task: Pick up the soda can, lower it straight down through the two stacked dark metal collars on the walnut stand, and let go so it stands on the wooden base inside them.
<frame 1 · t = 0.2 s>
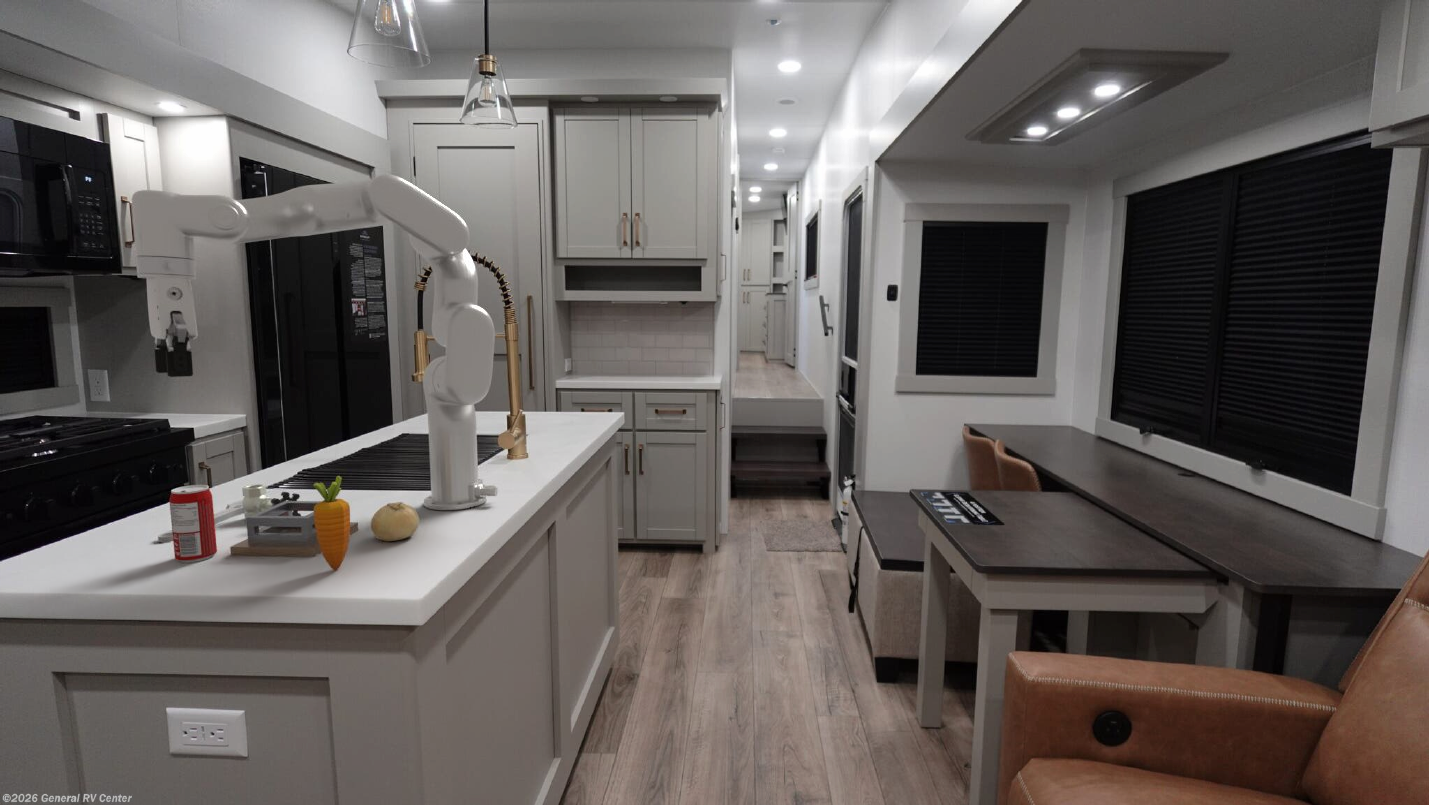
hand: (174, 374, 113), 30 cm above the countertop, tool pointing down, fingers open, 9 cm apart
onion: (396, 539, 123), on the countertop
soda can: (196, 558, 113), on the countertop
adjustable wrench: (213, 523, 132), on the countertop
carrot: (335, 571, 107), on the countertop
collar stand: (298, 542, 120), on the countertop
valve: (269, 522, 132), on the countertop
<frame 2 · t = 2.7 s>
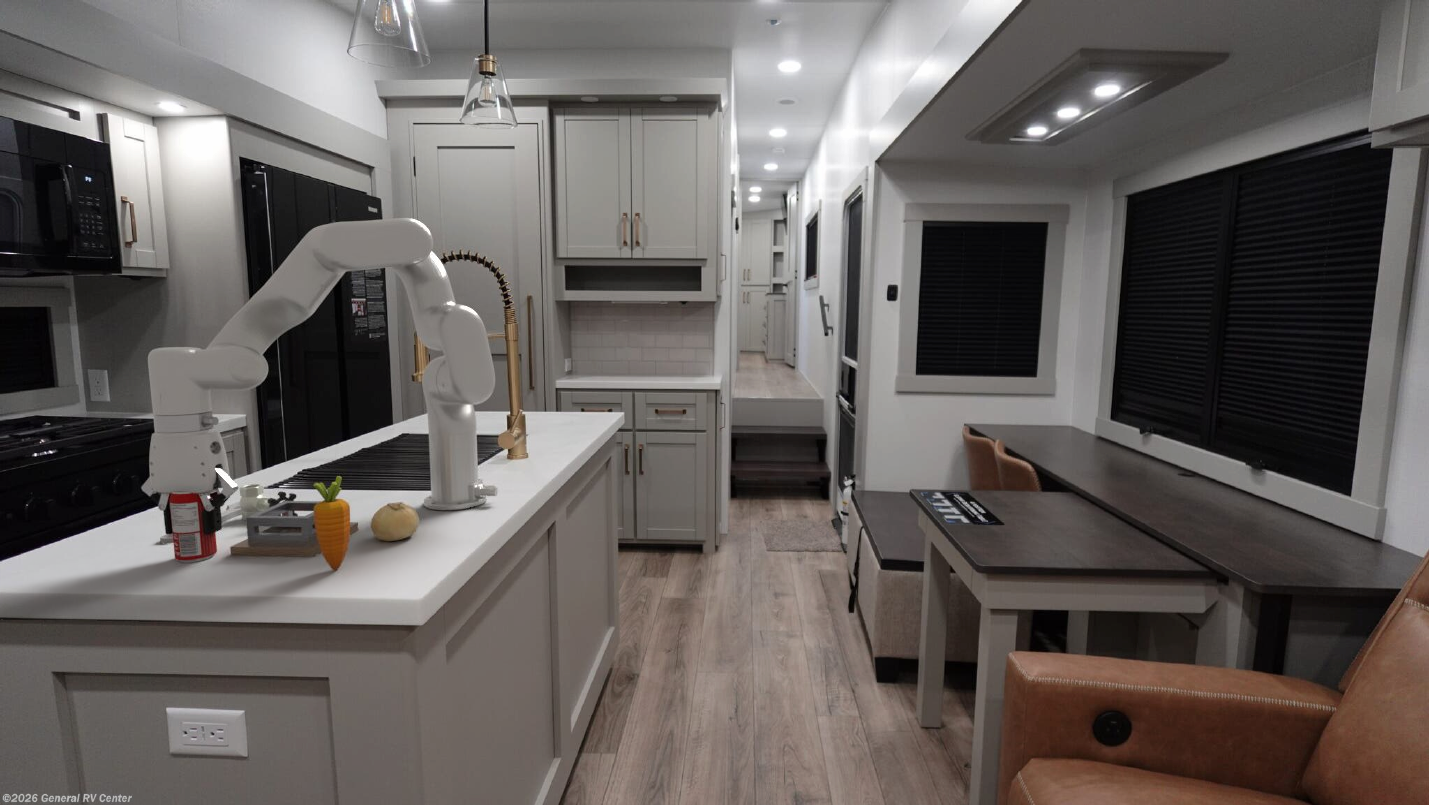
hand: (194, 531, 112), 5 cm above the countertop, tool pointing down, fingers closed on soda can, 5 cm apart
soda can: (196, 558, 113), on the countertop, touching gripper
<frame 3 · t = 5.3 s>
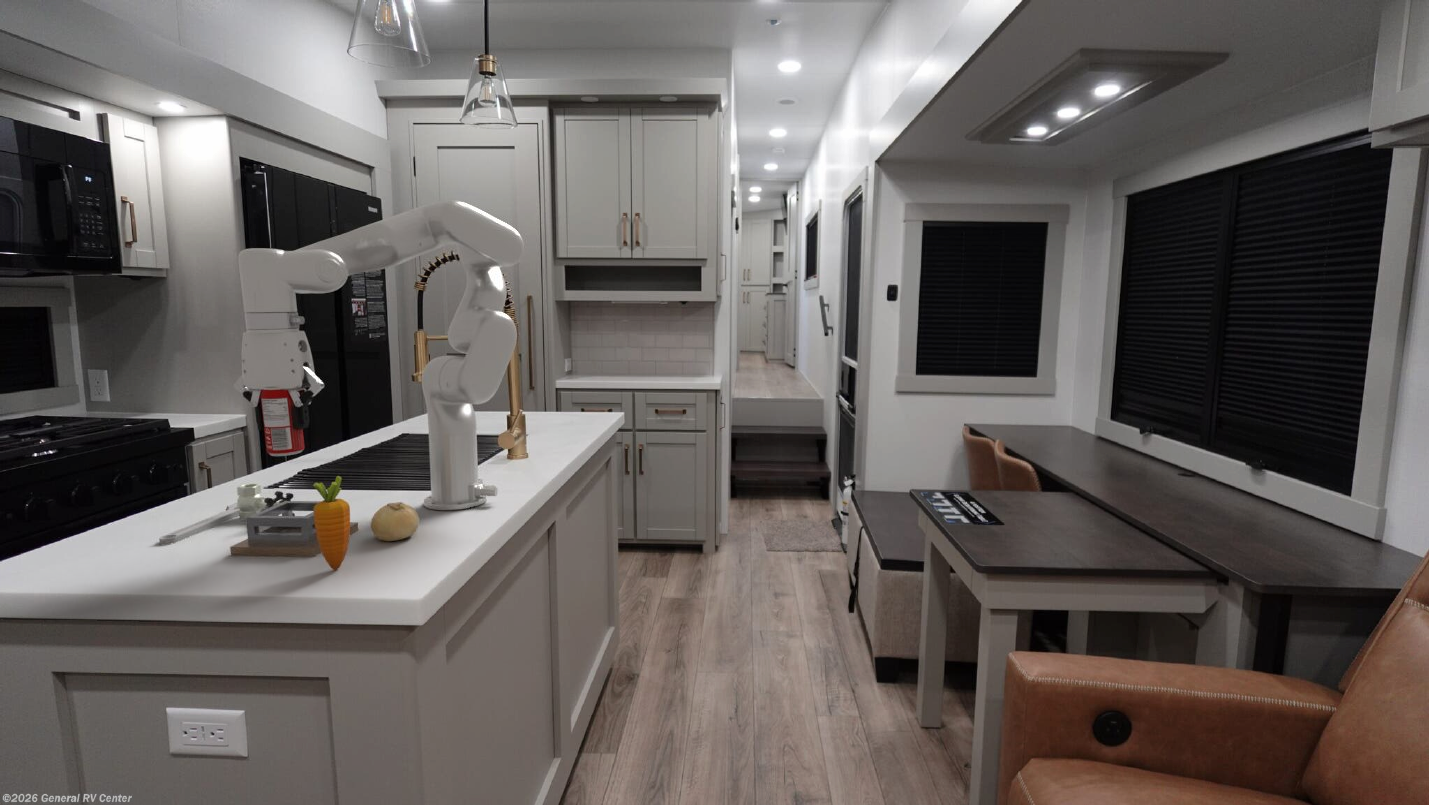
hand: (283, 427, 117), 21 cm above the countertop, tool pointing down, fingers closed on soda can, 5 cm apart
soda can: (286, 454, 118), point 16 cm above the countertop, touching gripper
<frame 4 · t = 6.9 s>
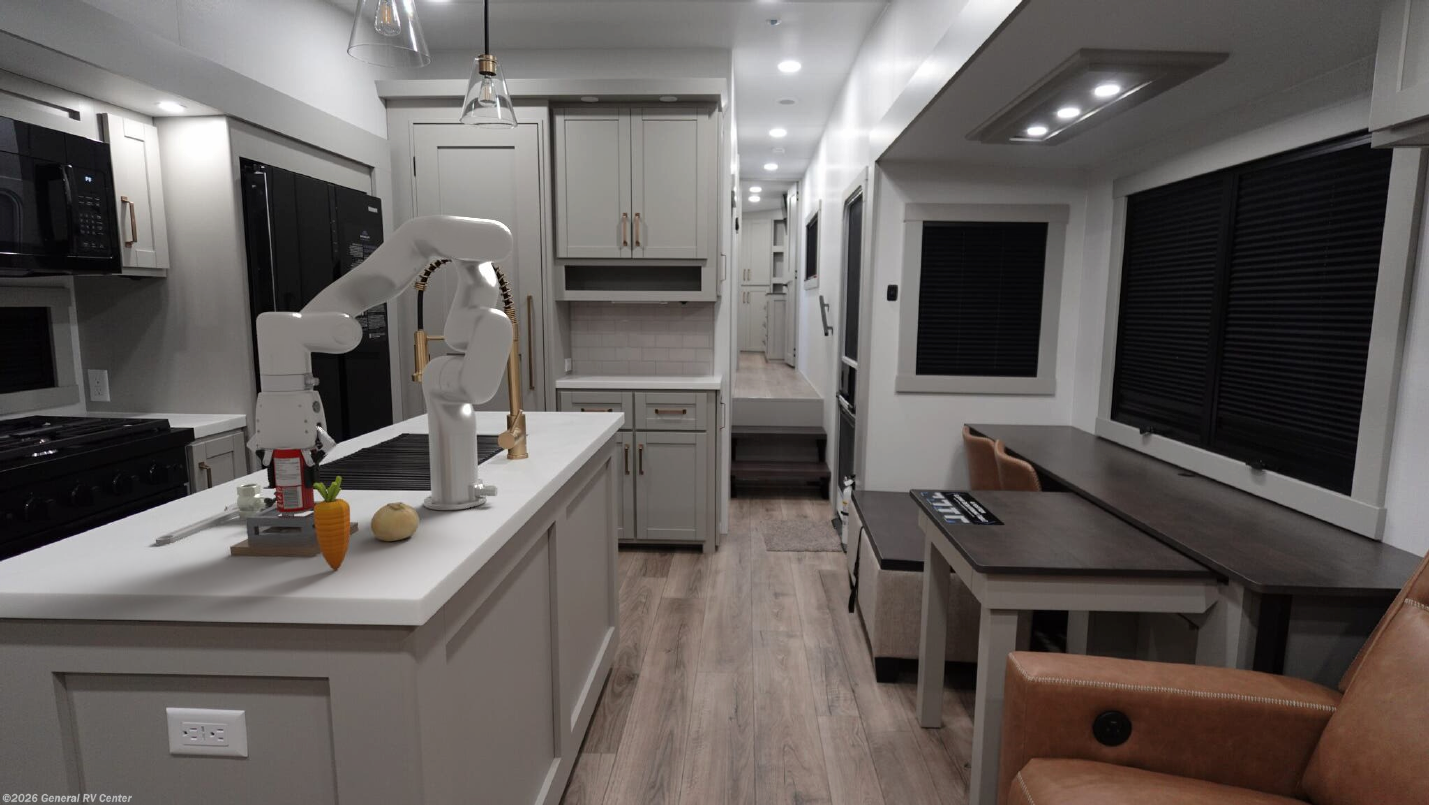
hand: (294, 485, 119), 10 cm above the countertop, tool pointing down, fingers closed on soda can, 5 cm apart
soda can: (296, 511, 120), point 6 cm above the countertop, touching gripper
when the fingers open (7 cm above the countertop, at t = 8.0 s): soda can stays where it is, resting on collar stand.
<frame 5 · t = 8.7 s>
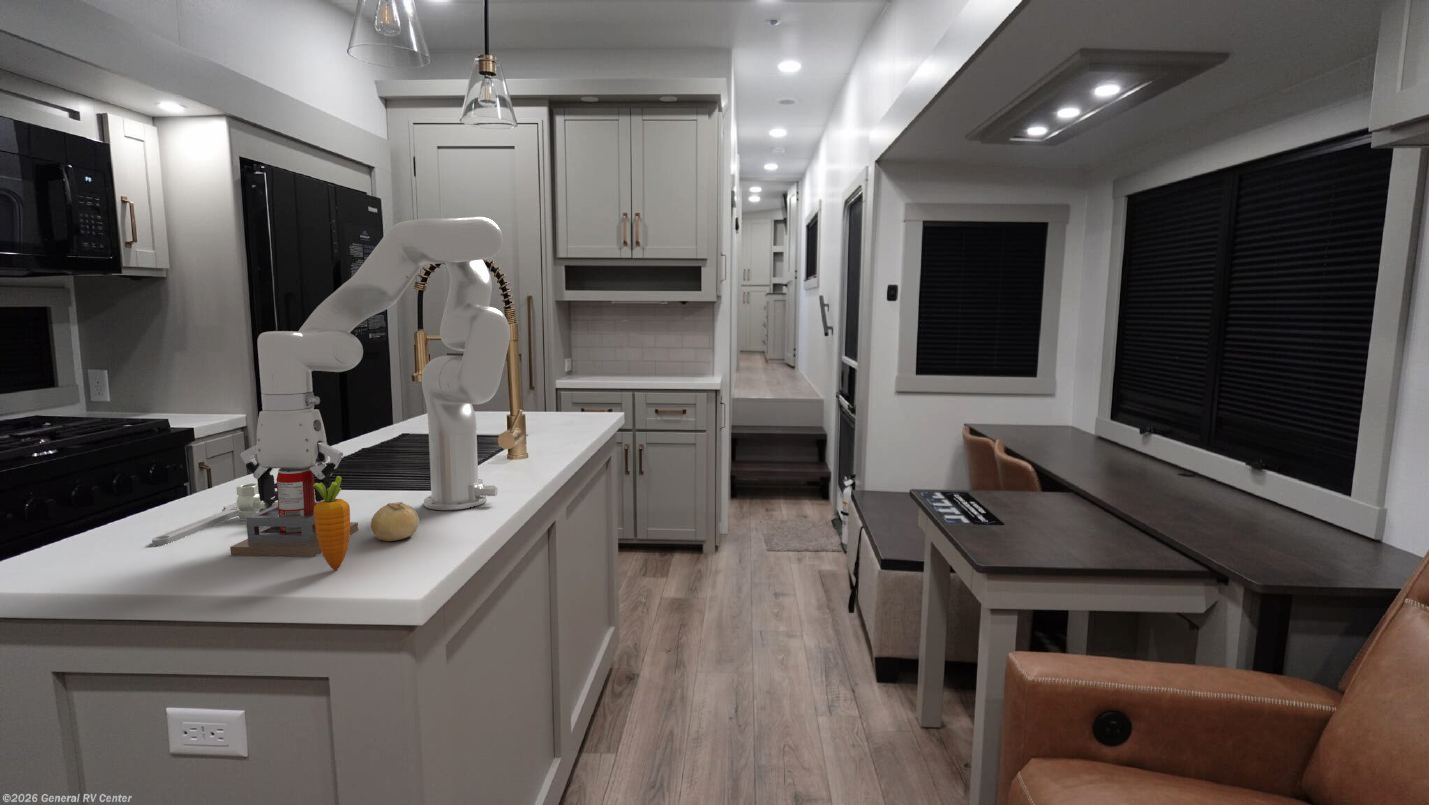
hand: (295, 499, 119), 8 cm above the countertop, tool pointing down, fingers open, 9 cm apart
soda can: (298, 534, 120), point 1 cm above the countertop, touching collar stand
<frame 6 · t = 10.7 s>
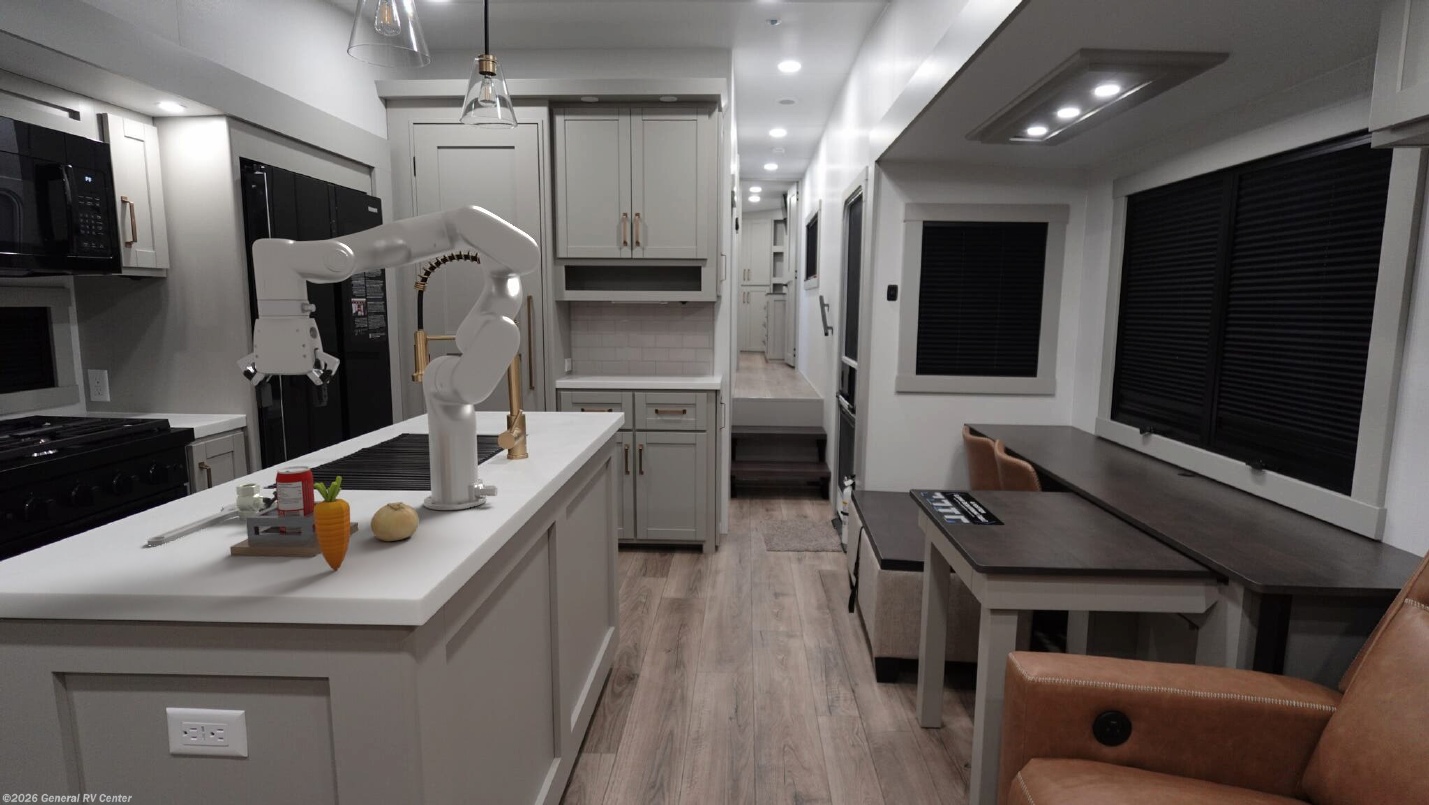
hand: (293, 406, 122), 24 cm above the countertop, tool pointing down, fingers open, 9 cm apart
adjustable wrench: (207, 526, 130), on the countertop, touching valve
valve: (262, 521, 133), on the countertop, touching adjustable wrench
everything else where it was.
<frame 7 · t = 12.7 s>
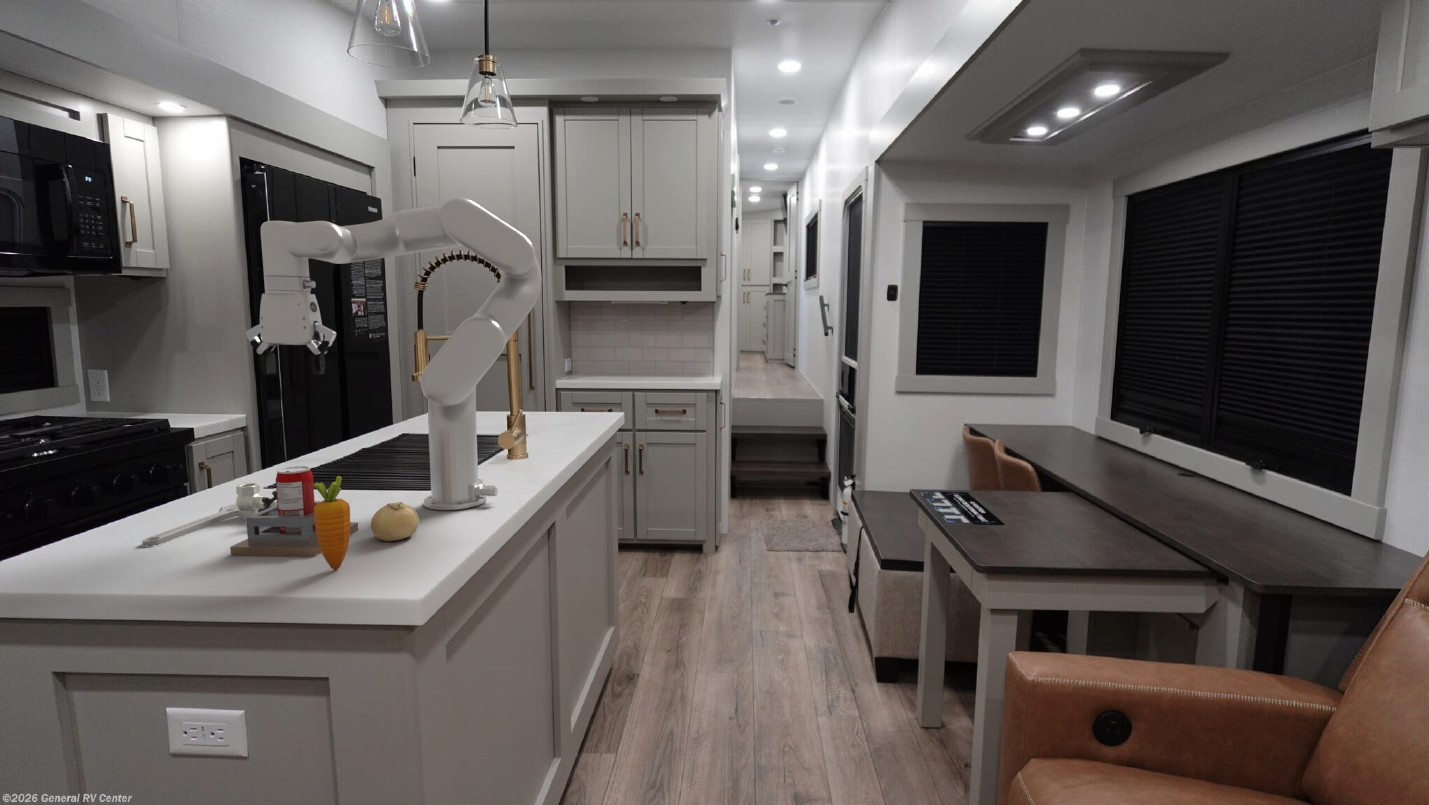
hand: (293, 374, 135), 28 cm above the countertop, tool pointing down, fingers open, 9 cm apart
adjustable wrench: (204, 527, 130), on the countertop
valve: (261, 521, 133), on the countertop
everything else where it was.
at the end: soda can 0.1 cm off-centre on the collar stand, point 1.3 cm above the collar stand's base; soda can tilted 0°; the gripper is holding nothing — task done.
